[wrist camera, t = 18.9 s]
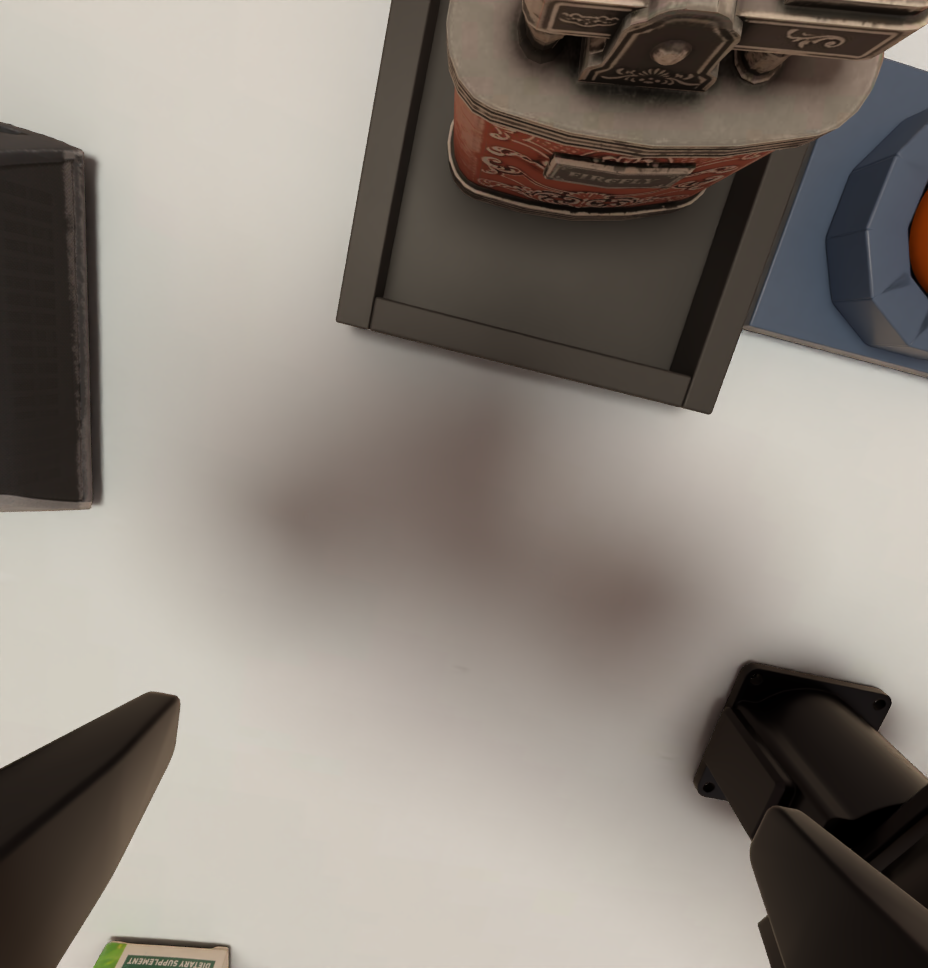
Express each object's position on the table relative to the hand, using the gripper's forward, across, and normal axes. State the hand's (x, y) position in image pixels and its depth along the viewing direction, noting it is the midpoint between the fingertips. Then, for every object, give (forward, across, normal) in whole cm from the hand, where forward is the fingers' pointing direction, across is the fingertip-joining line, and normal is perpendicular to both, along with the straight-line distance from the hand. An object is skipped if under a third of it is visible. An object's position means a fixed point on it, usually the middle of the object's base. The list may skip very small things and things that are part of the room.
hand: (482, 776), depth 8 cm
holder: (+13, -1, -12) cm, 18 cm away
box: (+13, -12, -12) cm, 22 cm away
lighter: (+13, -1, -12) cm, 17 cm away
